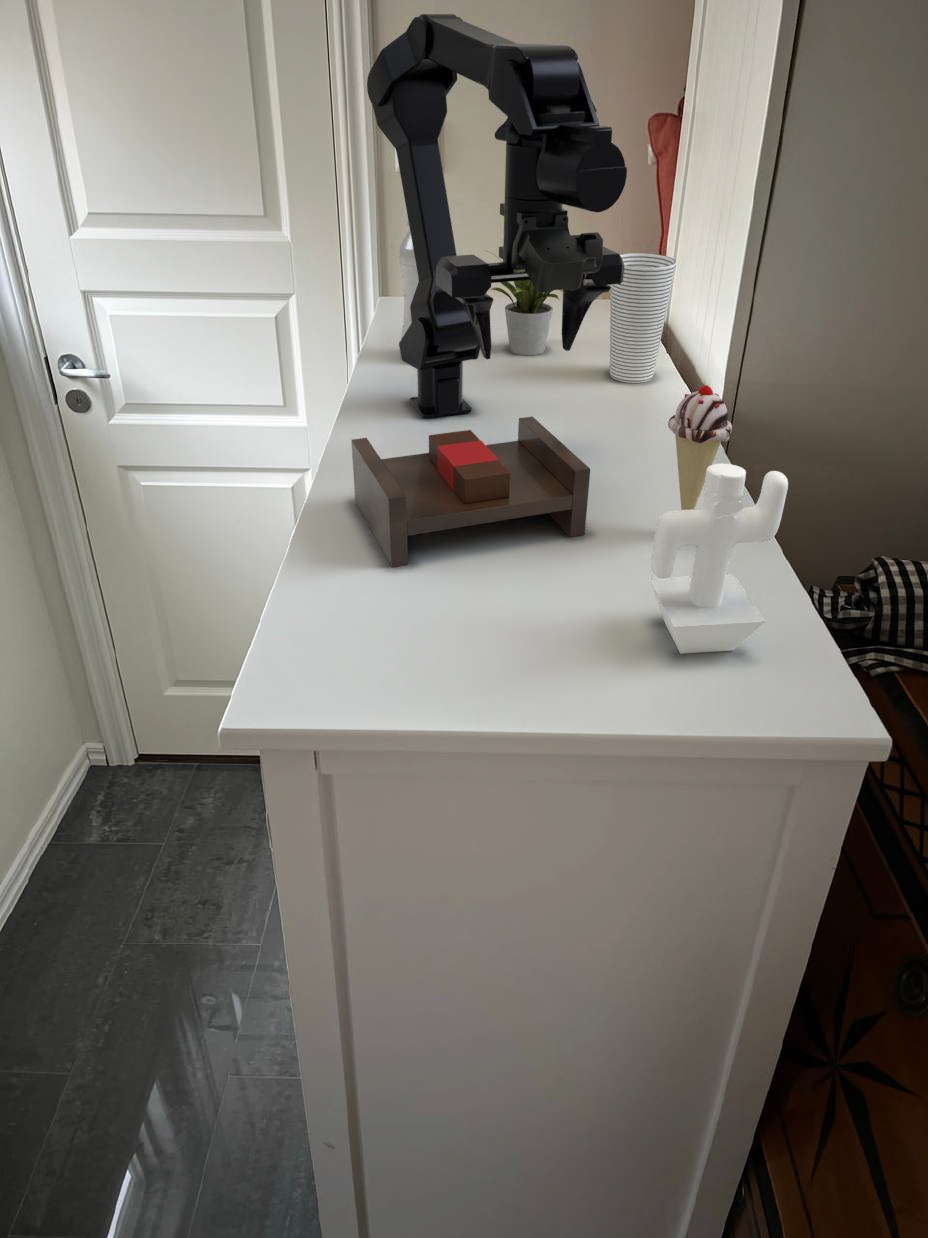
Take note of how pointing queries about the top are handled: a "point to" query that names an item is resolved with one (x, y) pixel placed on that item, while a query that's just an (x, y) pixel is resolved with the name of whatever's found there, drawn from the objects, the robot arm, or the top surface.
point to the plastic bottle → (408, 276)
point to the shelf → (424, 501)
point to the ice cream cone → (698, 440)
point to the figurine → (713, 560)
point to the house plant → (527, 317)
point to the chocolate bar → (469, 466)
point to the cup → (639, 315)
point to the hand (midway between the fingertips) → (527, 353)
